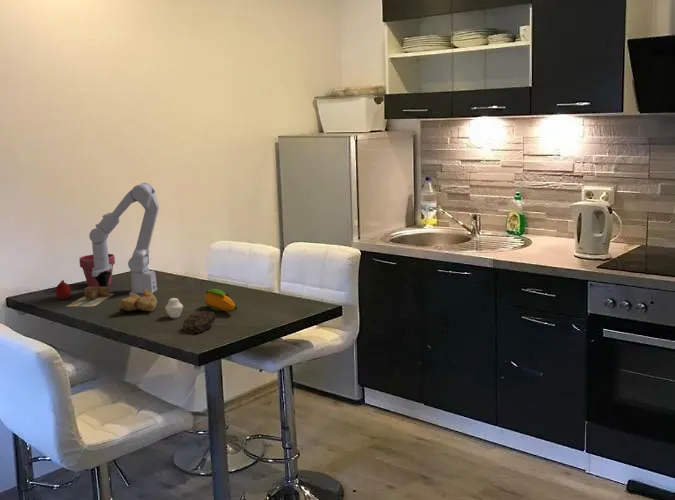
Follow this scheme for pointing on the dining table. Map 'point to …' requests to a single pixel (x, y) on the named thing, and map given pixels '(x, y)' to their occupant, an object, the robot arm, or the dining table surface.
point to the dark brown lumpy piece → (199, 321)
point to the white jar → (174, 308)
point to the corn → (219, 300)
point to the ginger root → (139, 302)
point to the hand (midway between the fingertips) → (104, 290)
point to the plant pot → (88, 264)
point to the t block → (96, 292)
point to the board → (83, 301)
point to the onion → (63, 290)
